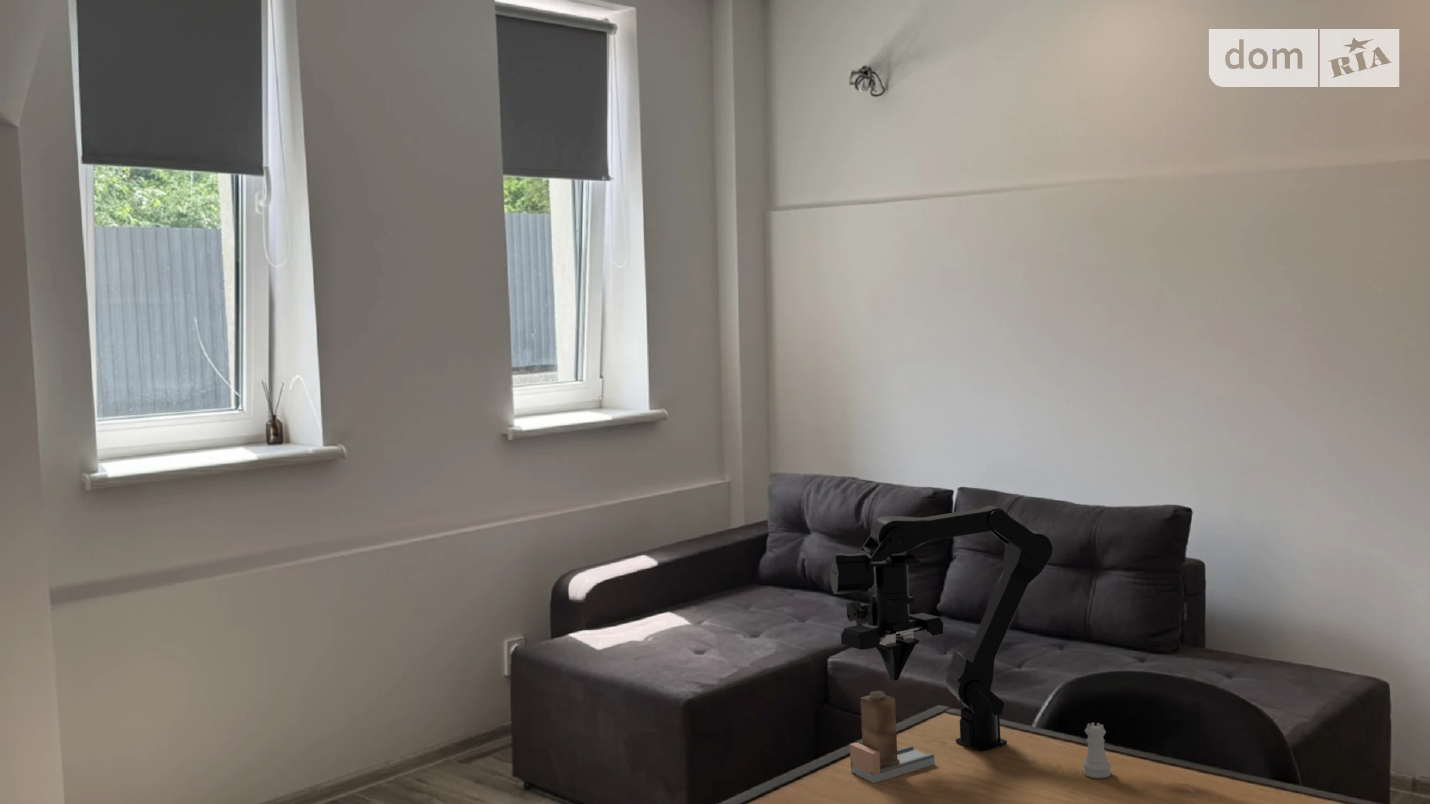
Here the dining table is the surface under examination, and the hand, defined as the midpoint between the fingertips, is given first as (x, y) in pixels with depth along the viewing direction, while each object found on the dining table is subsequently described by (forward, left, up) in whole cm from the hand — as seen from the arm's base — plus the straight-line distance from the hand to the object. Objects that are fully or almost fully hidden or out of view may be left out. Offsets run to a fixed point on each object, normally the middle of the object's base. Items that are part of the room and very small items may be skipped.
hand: (894, 680), depth 205 cm
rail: (+6, +5, -13) cm, 15 cm away
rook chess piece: (-18, +28, -13) cm, 36 cm away
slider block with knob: (+8, +5, -11) cm, 15 cm away
